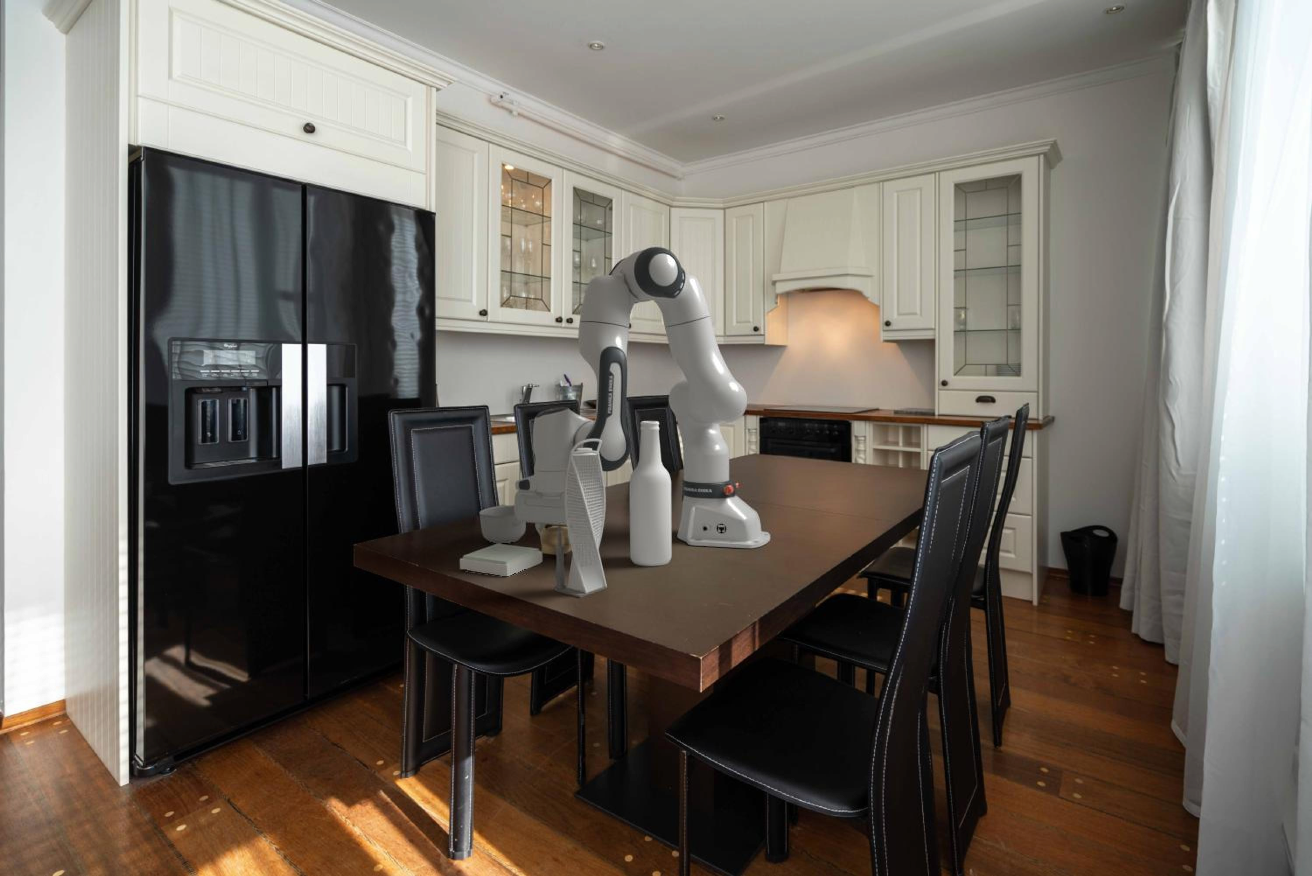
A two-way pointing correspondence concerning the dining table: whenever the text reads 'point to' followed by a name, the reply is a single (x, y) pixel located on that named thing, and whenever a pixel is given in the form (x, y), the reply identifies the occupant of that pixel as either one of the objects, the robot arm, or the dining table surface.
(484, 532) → the teacup
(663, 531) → the alcohol
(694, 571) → the dining table surface
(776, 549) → the dining table surface
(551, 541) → the oak cube
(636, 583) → the dining table surface
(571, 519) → the skyscraper
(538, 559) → the stand
